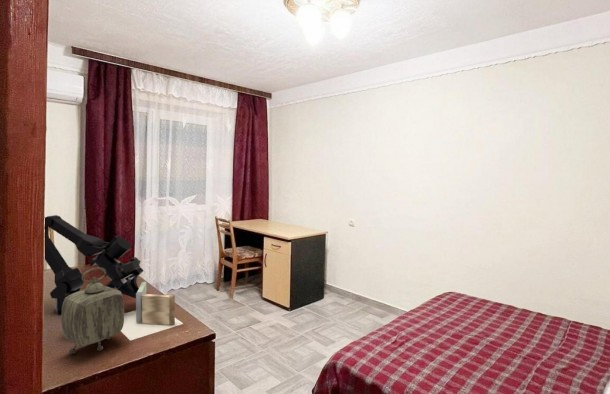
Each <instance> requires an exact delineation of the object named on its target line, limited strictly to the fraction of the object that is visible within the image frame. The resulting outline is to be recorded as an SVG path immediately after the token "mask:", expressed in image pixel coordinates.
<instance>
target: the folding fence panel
mask: <svg viewBox="0 0 610 394" xmlns="http://www.w3.org/2000/svg"><path fill="white" fill-rule="evenodd" d="M138 288H139V289H138V292H137V293H136V298H135V310H136V322H137V323H140V322H142V298H141V296H142V295H143V294H147V281H141V283H140V284H139V287H138Z"/></svg>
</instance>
